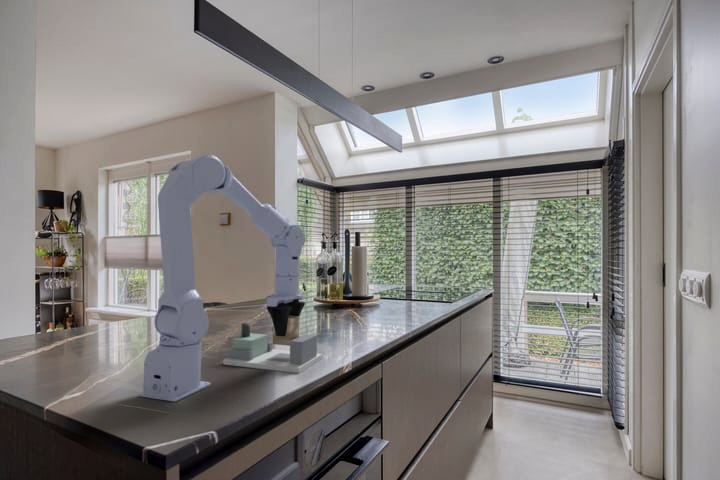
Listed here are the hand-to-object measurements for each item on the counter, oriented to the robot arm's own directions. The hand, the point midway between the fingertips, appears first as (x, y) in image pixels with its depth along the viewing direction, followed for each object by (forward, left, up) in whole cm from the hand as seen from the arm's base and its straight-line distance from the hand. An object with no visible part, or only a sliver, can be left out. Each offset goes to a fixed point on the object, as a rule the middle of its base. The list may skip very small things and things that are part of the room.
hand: (285, 333), depth 94 cm
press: (0, +3, -7) cm, 7 cm away
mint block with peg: (0, +9, -5) cm, 11 cm away
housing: (0, 0, -2) cm, 2 cm away
